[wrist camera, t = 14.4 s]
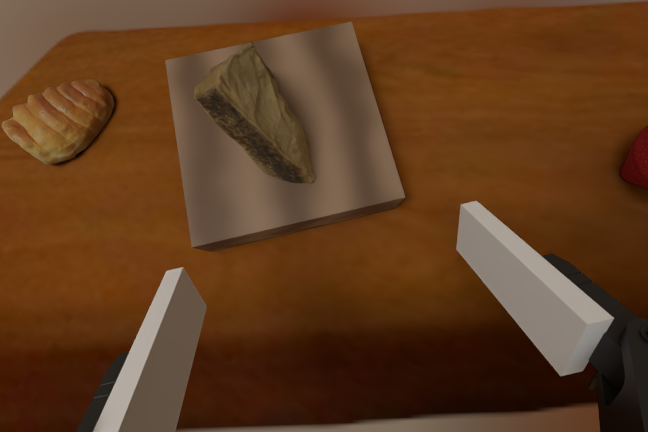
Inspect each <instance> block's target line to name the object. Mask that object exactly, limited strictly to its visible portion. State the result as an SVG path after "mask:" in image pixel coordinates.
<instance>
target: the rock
mask: <svg viewBox="0 0 648 432" xmlns="http://www.w3.org/2000/svg"><path fill="white" fill-rule="evenodd" d="M194 99H195V100H196V102H197V103H198V104H199V105H200V106H201V107H202V108H203V109H204V111H205V112H206V113H207V114H208V115H209V116H210V118H211V119H212V120H213V121H214V122H215V123H216V124H217V126H218V127H219V128H220V129H221V130H223V131H224V132H225V133H226V134H227V135H228V136H229V137H231V138H232V139H234V140H235V141H236V142H237V143H238V144H239V145H241V146H242V147H243V148H244V150H245V152H246V153H247V154H248V156H249V157H250V158H251V159H252V160H253V162H254V163H255V164H256V165H257V166H258V167H259V168H260V169H261V170H262V171H263V173H265V174H266V175H269V176H272V177H274V178H278V179H281V180H285V181H287V182H291V183H305V182H306V183H313V182H314V180H315V176H314V174H313V173H312V170H311V161H310V157H309V155H310V153H309V152H310V151H309V147H308V143H309V141H308V140H307V138H306V135H305V134H304V132H303V128H302V126H301V124H300V123H299V121H298V120H297V118H296V117H295V115H293V113H292V112H291V111H290V109H289V107H288V104H287V103H286V101H285V100H284V98H283V97H282V96H281V95H280V94H279V93H278V87H277V80H276V77H275V75H274V74H273V72H272V70H270V69H269V67H268V66H267V64H265V63H264V61H263V60H262V58H261V57H260V55H259V54H258V53H257V51H256V48H255V46H254V44H253V43H252V42H250V43H248V44H247V45H245V46H244V47H243V48H241V49H240V50H239V51H238V52H237V53H235V54H232V55H231V56H230V57H229V58H228V59H227V60H225V61H224V62H222V63H220V64H218V65H216V66H214V67H213V68H211V70H210V74H208V75H206V76H205V77H204V78H203V79H202V81H201V82H200V83H199V84H198V85H196V87H195V91H194Z"/></svg>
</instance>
